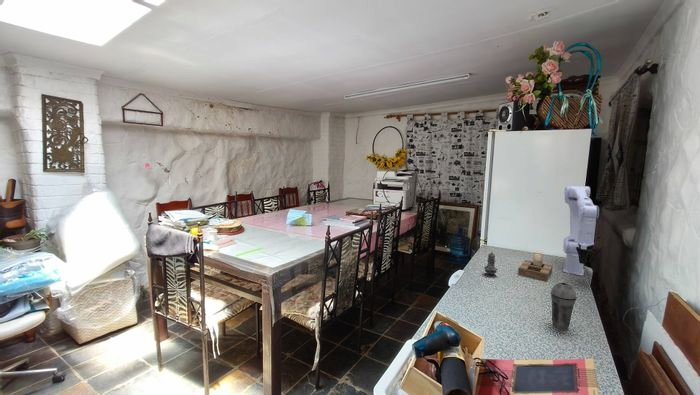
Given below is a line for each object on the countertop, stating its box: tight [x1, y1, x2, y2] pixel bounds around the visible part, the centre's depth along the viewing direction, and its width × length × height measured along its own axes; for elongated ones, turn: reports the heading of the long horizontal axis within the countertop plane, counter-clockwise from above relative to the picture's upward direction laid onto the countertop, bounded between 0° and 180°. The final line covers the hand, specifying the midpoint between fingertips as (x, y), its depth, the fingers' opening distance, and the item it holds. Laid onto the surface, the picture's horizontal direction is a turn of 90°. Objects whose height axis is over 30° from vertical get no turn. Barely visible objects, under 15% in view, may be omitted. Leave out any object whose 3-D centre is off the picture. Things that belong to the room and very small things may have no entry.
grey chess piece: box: [483, 251, 498, 278], centre depth 147 cm, size 6×6×12 cm
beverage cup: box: [550, 271, 577, 332], centre depth 102 cm, size 7×7×20 cm
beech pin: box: [532, 252, 544, 267], centre depth 152 cm, size 4×4×8 cm
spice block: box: [517, 259, 554, 282], centre depth 150 cm, size 15×12×4 cm
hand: (583, 261), depth 137 cm, fingers open, 7 cm apart
